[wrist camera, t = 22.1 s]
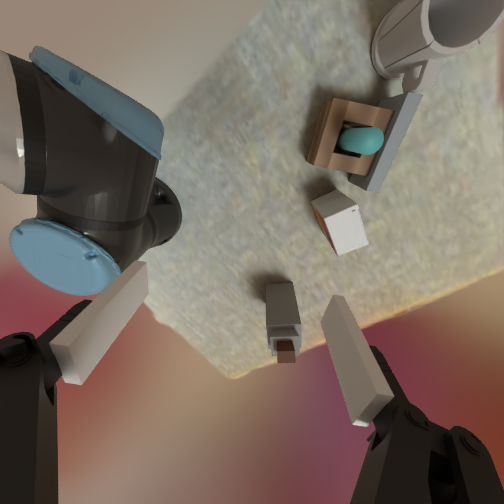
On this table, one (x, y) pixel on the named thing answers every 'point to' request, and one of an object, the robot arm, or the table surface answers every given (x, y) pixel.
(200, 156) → the table surface
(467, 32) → the cup
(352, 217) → the small box
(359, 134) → the dowel
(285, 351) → the perfume bottle
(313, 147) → the block
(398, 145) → the wall
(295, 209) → the table surface
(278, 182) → the table surface
